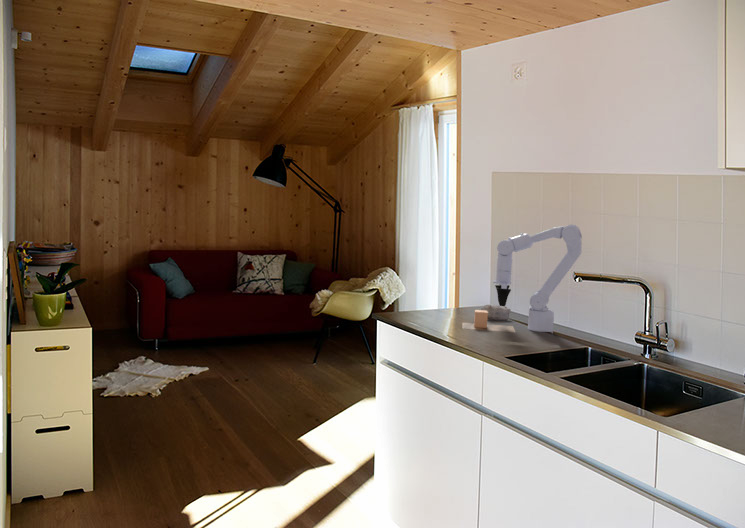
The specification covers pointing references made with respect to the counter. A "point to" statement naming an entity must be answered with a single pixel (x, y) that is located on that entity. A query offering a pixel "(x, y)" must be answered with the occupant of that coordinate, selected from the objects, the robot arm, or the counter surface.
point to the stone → (497, 312)
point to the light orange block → (480, 318)
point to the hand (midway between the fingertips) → (501, 304)
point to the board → (489, 327)
